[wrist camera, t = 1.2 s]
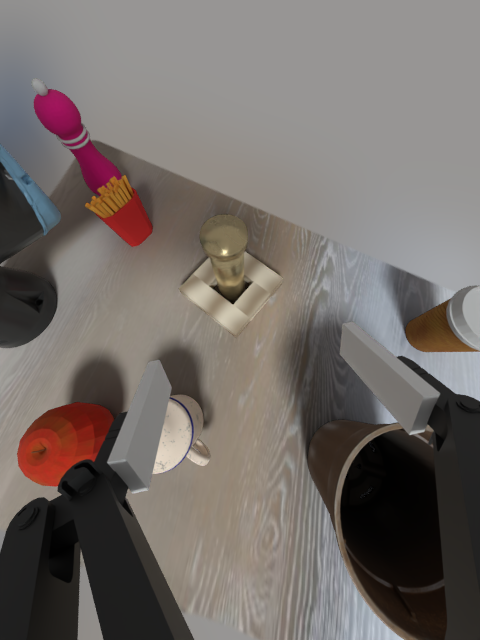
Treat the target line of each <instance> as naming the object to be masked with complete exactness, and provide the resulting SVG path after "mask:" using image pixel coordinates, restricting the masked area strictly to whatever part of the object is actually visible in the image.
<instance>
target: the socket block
mask: <svg viewBox="0 0 480 640" xmlns="http://www.w3.org/2000/svg"><path fill="white" fill-rule="evenodd" d="M283 279H284V278H282V277H281V276H279V275H278V274H277V273H275V272H274V271H272V270H271V269H269V268H268V267H267V266H265V265H264V264H262V263H261V262H260V261H258V260H257V259H255V258H254V257H252V256H251V255H250V254H248V253H247V252H244V281H246V282H247V283H248V284H250V286H249V287H248V288H247V290H246V291H245V292H244V293H243V294H242V295H241V296H240V298H239V299H238V300H237V301H236V302H235V303H234V304H231V303H230V302H229V301H227V300H226V299H225V298H224V297H222V296H221V295H220V294H218V293H217V292H216V291H215V290H213V288H214V287H215V286H216V285H217V281H216V278H215V275H214V271H213V268H212V264H211V261H210V258H208V259H207V260H206V261H205V262H204V263H203V264H202V265H201V266H200V267H199V268H198V269H197V270H196V271H195V272H194V273H193V274H192V275H191V276H190V277H189V278H188V280H187V281H186V282H185V283H184V284H183V285H182V286H181V287H180V288H179V290H180V292H181V293H182V294H183V295H184V296H185V297H187V298H188V299H189V300H190V301H191V302H193V303H194V304H195V305H196V306H198V307H199V308H200V309H201V310H203V311H204V312H205V313H206V314H207V315H209V316H210V317H211V318H212V319H214V320H215V321H216V322H217V323H219V324H220V325H221V326H222V327H223V328H225V329H226V330H227V331H228V332H230V333H231V334H232V335H233V336H235V337H236V338H237V337H238V336H239V334H240V333H241V332H242V331H243V330H244V328H245V327H246V326H247V325H248V324H249V322H250V321H251V320H252V319H253V318H254V316H255V315H256V314H257V313H258V312H259V311H260V309H261V308H262V307H263V306H264V305H265V303H266V302H267V301H268V300H269V299H270V297H271V296H272V295H273V294H274V293H275V291H276V290H277V289H278V288H279V287H280V285H281V284H282V282H283Z"/></svg>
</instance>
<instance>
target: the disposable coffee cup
mask: <svg viewBox="0 0 480 640" xmlns="http://www.w3.org/2000/svg"><path fill="white" fill-rule="evenodd" d="M405 333H406V337H407V339H408V341H409V343H410V344H411V345H412V346H413V347H414V348H416V349H417V350H420V351H423V352H474V351H475V352H480V286H469V287H466V288H463V289H461V290H460V291H458V292H457V293H456V294H455V295H454V296H453V297H452V298H451V299H449V300H447V301H445V302H444V303H442V304H440V305H438V306H436V307H435V308H433V309H431V310H429V311H427V312H426V313H424V314H422V315H420V316H419V317H417V318H415V319H413V320H411V321H410V322H409V323H408V324H407V326H406V332H405Z"/></svg>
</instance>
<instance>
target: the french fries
mask: <svg viewBox="0 0 480 640" xmlns="http://www.w3.org/2000/svg"><path fill="white" fill-rule="evenodd" d="M121 178H122V179H120V180H117V179H116V177H115V176H114V177H113V178H111V179H110V180H109V182H108V183H107V184H106V185H107V188H108V189H109V190H108V189H106V188H105V187H104V185H103V186H102V187H101V188H100V187H99V189H98V190H97V191H98V192H99V193H100V194H101V196H100V197H99V198H96V197H95V196H93V197H92V199H93V200H94V201H95V202H94V201H93V200H92V201H91V202H90V204H91V205H90V204H89V203H86V205H85V207H87V208H88V209H90V210H91V211H93V212H95V213H96V215H97V216H98V217H99V218H100V219H101V220H103V221H104V222H105V223H106V224H107V225H108V226H109V227H110V228H111V229H112V230H114V231H115V232H116V233H117V234H118V235H119V236H120V237H121V238H122V239H123V240H125V241H126V242H127V243H128V244H129V245H131V246H132V247H133V246H138V245H140V244H141V243H142V242H143V241H144V240H145V239H146V238H147V237H148V236H149V235H150V234H151V233H152V229H153V227H152V225H151V222H150V220H149V218H148V216H147V214H146V211H145V209H144V207H143V205H142V203H141V201H140V198H139V196H138V194H137V192H136V190H135V189H133V188H132V187H130V184H129V182H128V180H127V177H126V175H124V176H122V177H121ZM110 183H111V184H112V186H113V187H112V186H111V184H110Z"/></svg>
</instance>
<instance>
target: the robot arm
mask: <svg viewBox="0 0 480 640" xmlns="http://www.w3.org/2000/svg"><path fill="white" fill-rule="evenodd" d="M60 220H61V214H60V212H59V210H58V209H57V207H56V206H55V205H54V204H53V202H52V201H51V200H50V199H49V198H48V197H47V195H46V194H45V193H44V192H43V191H42V190H41V189H40V187H39V186H38V185H37V184H36V183H35V182H34V181H33V180H32V179H31V178H30V177H29V175H28V174H27V173H26V172H25V171H24V170H23V168H22V167H21V166H20V165H19V164H18V162H17V161H16V160H15V159H14V158H13V157H12V156H11V155H10V154H9V153H8V151H7V150H6V149H5V148H4V147H3V146H2V145H1V144H0V264H1V263H2V262H4V261H5V260H7V259H8V258H10V257H11V256H13V255H14V254H16V253H18V252H19V251H21V250H22V249H24V248H25V247H27V246H28V245H30V244H31V243H33V242H35V241H36V240H38V239H39V238H41V237H42V236H45V235H46V234H47V233H48V231H49V230H50V229H52V228H53V227H54V226H56V225H57V224H58V223H59V222H60ZM55 309H56V294H55V291H54V289H53V287H52V285H51V284H50V283H49V282H48V281H46V280H45V279H43V278H41V277H39V276H37V275H35V274H33V273H30V272H27V271H22V270H17V269H12V268H6V267H1V266H0V348H13V347H18V346H21V345H24V344H26V343H28V342H30V341H31V340H33V339H34V338H36V337H37V336H38V335H40V334H41V333H42V332H43V331H44V330H45V328H46V327H47V326H48V324H49V323H50V321H51V320H52V318H53V315H54V313H55ZM340 355H341V356H342V357H343V359H344V360H345V361H346V362H347V363H348V364H349V365H350V367H351V368H352V369H353V370H354V371H355V372H356V374H357V375H358V376H359V377H360V378H361V379H362V381H363V382H364V383H365V384H366V385H367V386H368V388H369V389H370V390H371V391H372V392H373V393H374V395H375V396H376V397H377V398H378V399H379V400H380V402H381V403H382V404H383V405H384V406H385V407H386V408H387V410H388V411H389V412H390V413H391V414H392V415H393V417H394V418H395V419H396V420H397V421H398V422H399V424H400V425H401V426H402V427H403V428H404V429H405V431H406V432H407V433H408V434H409V435H412V434H417V433H421V432H424V431H425V429H426V426H427V424H428V425H429V426H430V427H431V428H432V429H433V430H434V431H433V433H432V435H431V437H430V439H429V442H428V445H431V444H432V442H433V451H434V464H435V476H436V488H437V500H438V512H439V524H440V536H441V548H442V561H443V573H444V585H445V597H446V609H447V630H446V635H445V640H480V401H478V400H476V399H474V398H472V397H469V396H466V395H460V394H455V393H454V392H452V391H451V390H450V389H449V388H447V387H446V386H445V385H443V384H442V383H441V382H440V381H438V380H437V379H436V378H434V377H433V376H432V375H430V374H428V372H427V371H425V370H424V369H423V368H421V367H420V366H419V365H417V364H416V363H415V362H414V361H412V360H410V359H408V358H406V357H403V356H399V357H395V356H394V355H393V354H392V353H391V352H389V351H388V350H387V349H386V348H384V347H383V346H382V345H381V344H380V343H378V342H377V341H376V340H375V339H373V338H372V337H371V336H370V335H369V334H367V333H366V332H365V331H364V330H363V329H361V328H360V327H359V326H358V325H356V324H355V323H354V322H348V323H343V324H342V335H341V346H340ZM171 389H172V387H171V385H170V382H169V380H168V378H167V376H166V373H165V371H164V369H163V366H162V364H161V362H160V360H155V361H150V362H148V364H147V367H146V369H145V372H144V374H143V377H142V379H141V381H140V384H139V386H138V389H137V391H136V393H135V396H134V398H133V401H132V403H131V406H130V408H129V410H128V412H123V413H120V414H119V415H118V416H117V417H116V418H115V420H114V421H113V422H112V424H111V426H110V428H109V431H108V433H107V435H106V437H105V441H103V443H102V446H101V448H100V450H99V452H98V454H97V456H96V459H95V461H94V462H93V461H92V460H90V459H85V460H82V461H79V462H78V463H76V464H74V465H73V466H72V467H71V468H70V469H69V470H67V471H66V473H65V474H64V475H63V477H62V478H61V480H60V482H59V484H58V492H59V493H61V494H62V495H61V496H59V497H57V498H55V499H53V500H51V501H48V500H47V499H46V498H44V497H43V498H37V499H35V500H33V501H31V502H29V503H28V504H27V505H25V506H24V507H23V508H22V509H21V510H20V511H19V512H18V513H17V514H16V515H15V517H14V518H13V519H12V521H11V522H10V524H9V526H8V528H7V531H6V534H5V538H4V541H3V545H2V549H1V552H0V640H77V636H78V606H79V579H80V551H82V555H83V559H84V563H85V567H86V571H87V575H88V579H89V583H90V587H91V590H92V595H93V599H94V603H95V607H96V611H97V615H98V619H99V623H100V627H101V631H102V635H103V639H104V640H194V638H193V636H192V634H191V632H190V630H189V628H188V626H187V624H186V622H185V619H184V617H183V615H182V613H181V611H180V609H179V607H178V605H177V603H176V600H175V598H174V596H173V594H172V592H171V590H170V588H169V586H168V584H167V582H166V579H165V577H164V575H163V573H162V571H161V569H160V567H159V565H158V563H157V561H156V558H155V556H154V554H153V552H152V550H151V548H150V546H149V544H148V542H147V540H146V538H145V535H144V533H143V531H142V529H141V527H140V525H139V523H138V521H137V519H136V517H135V514H134V512H133V510H132V508H131V506H130V504H129V502H128V500H127V499H126V498H125V497H126V493H127V490H128V488H129V489H130V490H131V492H132V493H137V492H142V491H147V490H149V486H150V482H151V478H152V473H153V469H154V464H155V460H156V455H157V451H158V447H159V442H160V438H161V433H162V429H163V424H164V420H165V416H166V411H167V407H168V402H169V398H170V393H171Z"/></svg>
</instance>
